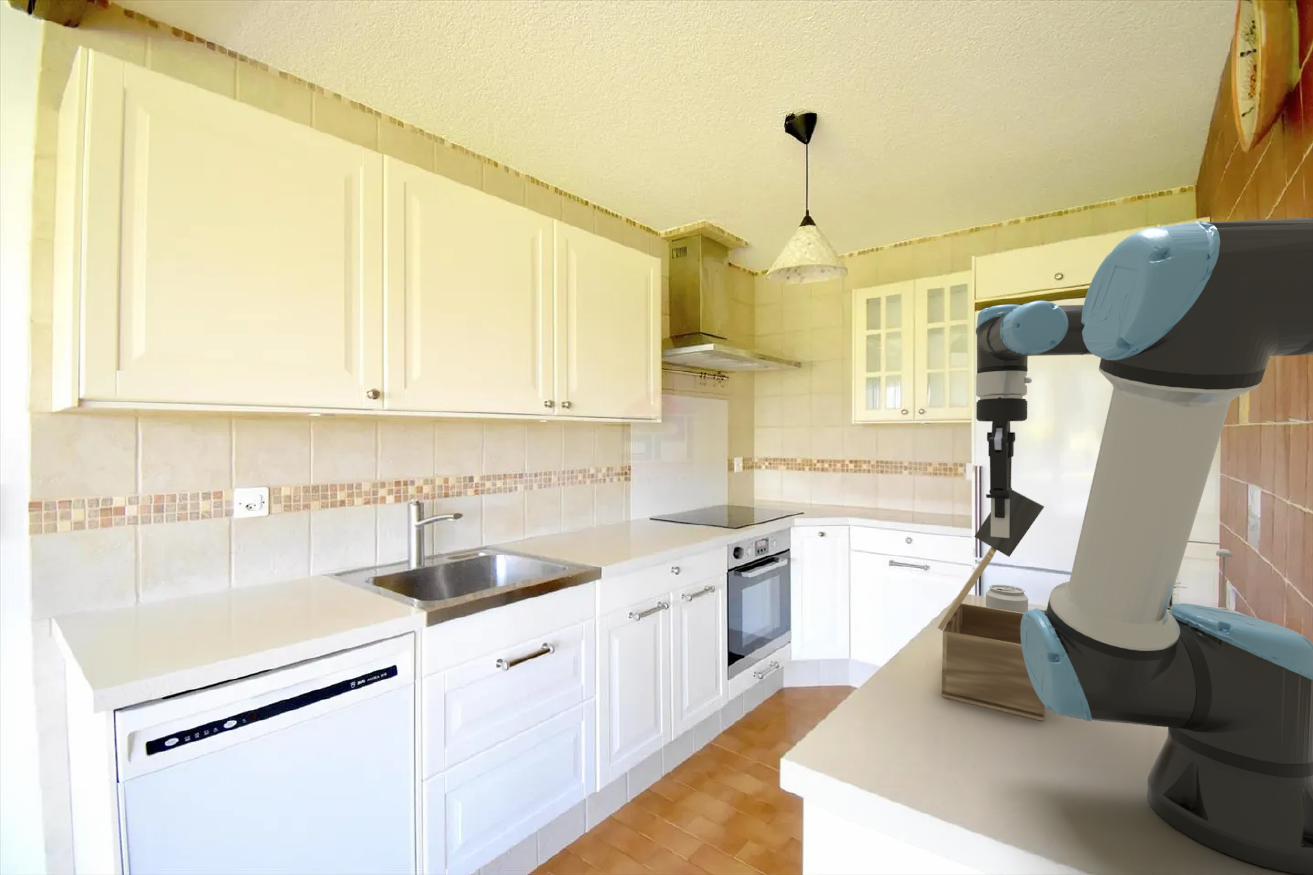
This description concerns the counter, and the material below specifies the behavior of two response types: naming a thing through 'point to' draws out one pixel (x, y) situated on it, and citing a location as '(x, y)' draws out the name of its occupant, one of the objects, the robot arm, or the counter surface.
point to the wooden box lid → (999, 541)
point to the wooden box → (988, 662)
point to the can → (1007, 598)
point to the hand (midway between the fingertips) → (1000, 535)
